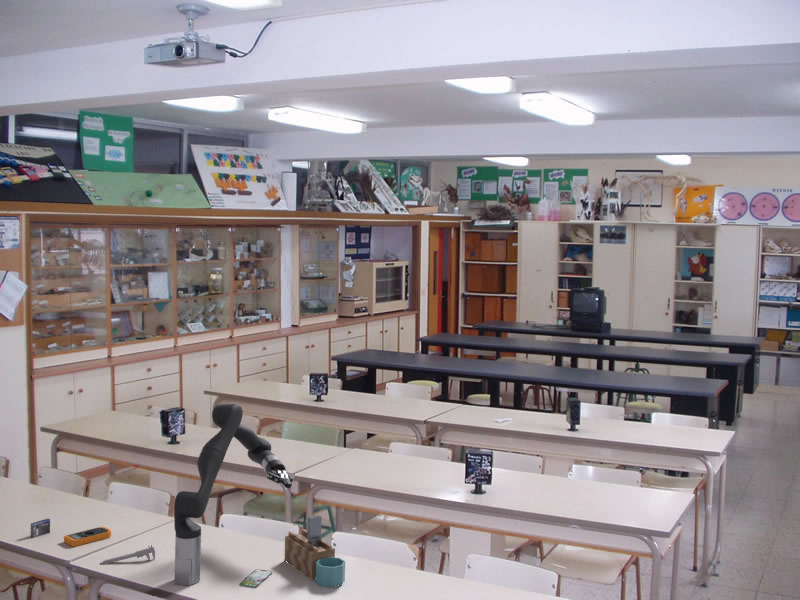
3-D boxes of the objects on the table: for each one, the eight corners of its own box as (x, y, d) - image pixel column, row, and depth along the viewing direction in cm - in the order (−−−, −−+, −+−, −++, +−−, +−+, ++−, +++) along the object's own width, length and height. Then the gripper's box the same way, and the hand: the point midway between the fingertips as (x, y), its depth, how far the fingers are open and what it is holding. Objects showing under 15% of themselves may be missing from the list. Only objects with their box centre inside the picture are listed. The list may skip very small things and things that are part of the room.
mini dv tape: (32, 538, 336) (32, 524, 336) (30, 537, 337) (30, 523, 337) (49, 532, 343) (50, 519, 343) (47, 532, 344) (47, 518, 344)
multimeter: (113, 537, 341) (113, 529, 340) (72, 548, 327) (73, 540, 327) (102, 533, 346) (103, 525, 346) (62, 543, 332) (62, 535, 332)
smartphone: (237, 584, 295) (255, 568, 309) (237, 587, 295) (255, 571, 309) (256, 587, 293) (273, 571, 307) (256, 590, 293) (273, 574, 307)
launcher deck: (284, 560, 320) (285, 532, 320) (306, 556, 326) (307, 528, 326) (311, 579, 302) (312, 549, 302) (334, 574, 308) (335, 544, 308)
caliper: (154, 559, 318) (155, 544, 317) (154, 560, 317) (155, 545, 316) (100, 563, 311) (100, 547, 311) (100, 564, 310) (100, 548, 310)
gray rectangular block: (307, 544, 310) (307, 516, 310) (318, 542, 313) (319, 514, 313) (310, 547, 308) (311, 519, 307) (322, 544, 311) (322, 517, 310)
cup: (311, 579, 302) (312, 560, 302) (334, 574, 308) (335, 555, 308) (325, 589, 294) (325, 569, 293) (348, 583, 300) (349, 563, 299)
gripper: (261, 457, 332) (277, 476, 318) (289, 460, 339) (306, 478, 325) (256, 474, 333) (272, 493, 319) (284, 476, 340) (301, 495, 326)
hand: (289, 486), depth 322 cm, fingers closed
